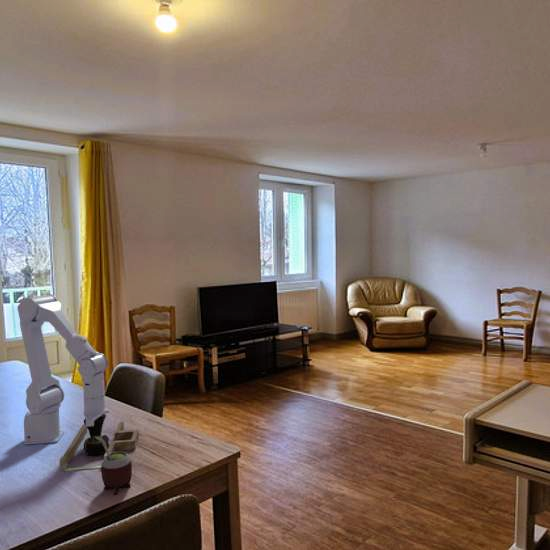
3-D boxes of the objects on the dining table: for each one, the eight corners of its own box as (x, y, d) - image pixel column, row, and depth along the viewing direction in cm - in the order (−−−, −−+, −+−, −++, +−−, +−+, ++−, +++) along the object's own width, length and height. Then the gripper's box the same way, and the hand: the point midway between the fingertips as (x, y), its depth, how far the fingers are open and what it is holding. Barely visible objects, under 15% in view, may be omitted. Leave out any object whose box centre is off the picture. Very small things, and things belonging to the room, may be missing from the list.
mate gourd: (134, 479, 118) (132, 421, 117) (129, 496, 110) (127, 434, 109) (103, 482, 116) (101, 423, 115) (96, 499, 109) (94, 436, 108)
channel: (58, 471, 122) (58, 461, 122) (82, 432, 148) (82, 423, 148) (130, 465, 125) (130, 455, 125) (141, 427, 151) (141, 419, 151)
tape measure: (109, 455, 132) (109, 442, 131) (83, 459, 129) (82, 446, 129) (109, 445, 138) (108, 433, 138) (84, 449, 136) (83, 436, 135)
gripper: (103, 403, 130) (105, 450, 131) (112, 387, 145) (114, 430, 145) (77, 405, 129) (79, 452, 130) (88, 389, 143) (90, 432, 144)
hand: (96, 441), depth 138 cm, fingers closed
